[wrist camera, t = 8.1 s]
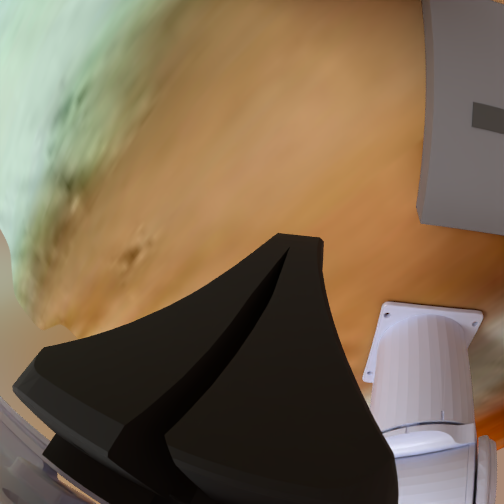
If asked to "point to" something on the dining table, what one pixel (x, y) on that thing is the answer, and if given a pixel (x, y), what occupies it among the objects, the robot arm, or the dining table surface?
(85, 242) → the dining table surface
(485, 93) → the console
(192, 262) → the dining table surface
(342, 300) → the dining table surface
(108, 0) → the dining table surface
